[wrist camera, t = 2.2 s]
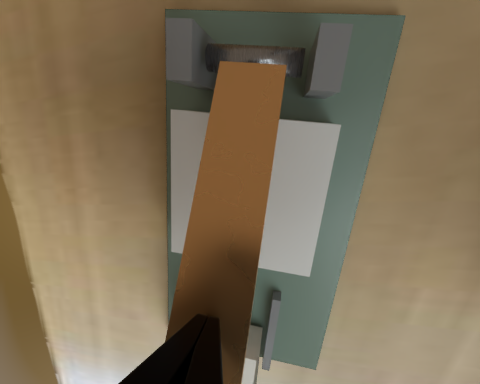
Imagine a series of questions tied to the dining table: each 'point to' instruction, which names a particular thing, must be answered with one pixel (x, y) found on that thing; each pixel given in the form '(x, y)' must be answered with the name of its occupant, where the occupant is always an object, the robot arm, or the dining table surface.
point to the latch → (252, 355)
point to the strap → (233, 193)
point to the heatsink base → (313, 95)
